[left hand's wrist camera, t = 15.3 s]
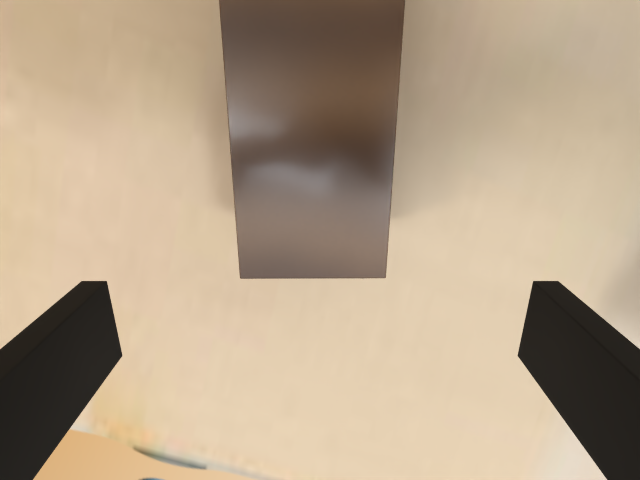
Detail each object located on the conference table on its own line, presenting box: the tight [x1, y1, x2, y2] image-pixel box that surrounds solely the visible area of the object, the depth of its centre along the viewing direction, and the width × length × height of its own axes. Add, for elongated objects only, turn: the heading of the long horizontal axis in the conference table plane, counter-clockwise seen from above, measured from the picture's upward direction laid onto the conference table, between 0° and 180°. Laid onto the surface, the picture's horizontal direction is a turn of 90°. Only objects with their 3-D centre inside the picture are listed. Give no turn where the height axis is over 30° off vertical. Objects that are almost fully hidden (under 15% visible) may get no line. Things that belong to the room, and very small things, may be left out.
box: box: [219, 0, 405, 279], centre depth 24 cm, size 24×9×9 cm, turn 0°
